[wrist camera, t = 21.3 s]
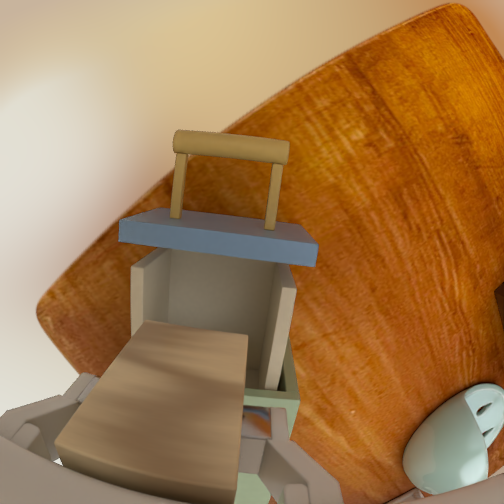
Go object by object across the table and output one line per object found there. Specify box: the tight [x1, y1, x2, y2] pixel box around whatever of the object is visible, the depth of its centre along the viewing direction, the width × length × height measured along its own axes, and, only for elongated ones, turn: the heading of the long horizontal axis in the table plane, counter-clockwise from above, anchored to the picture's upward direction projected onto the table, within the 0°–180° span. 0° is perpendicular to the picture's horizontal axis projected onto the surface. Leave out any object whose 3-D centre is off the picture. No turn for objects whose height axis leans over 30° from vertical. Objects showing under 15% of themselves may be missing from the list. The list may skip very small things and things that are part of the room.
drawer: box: [119, 130, 319, 391], centre depth 20 cm, size 18×10×7 cm, turn 173°
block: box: [54, 320, 248, 504], centre depth 9 cm, size 4×4×7 cm
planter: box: [402, 383, 504, 495], centre depth 26 cm, size 19×7×16 cm
